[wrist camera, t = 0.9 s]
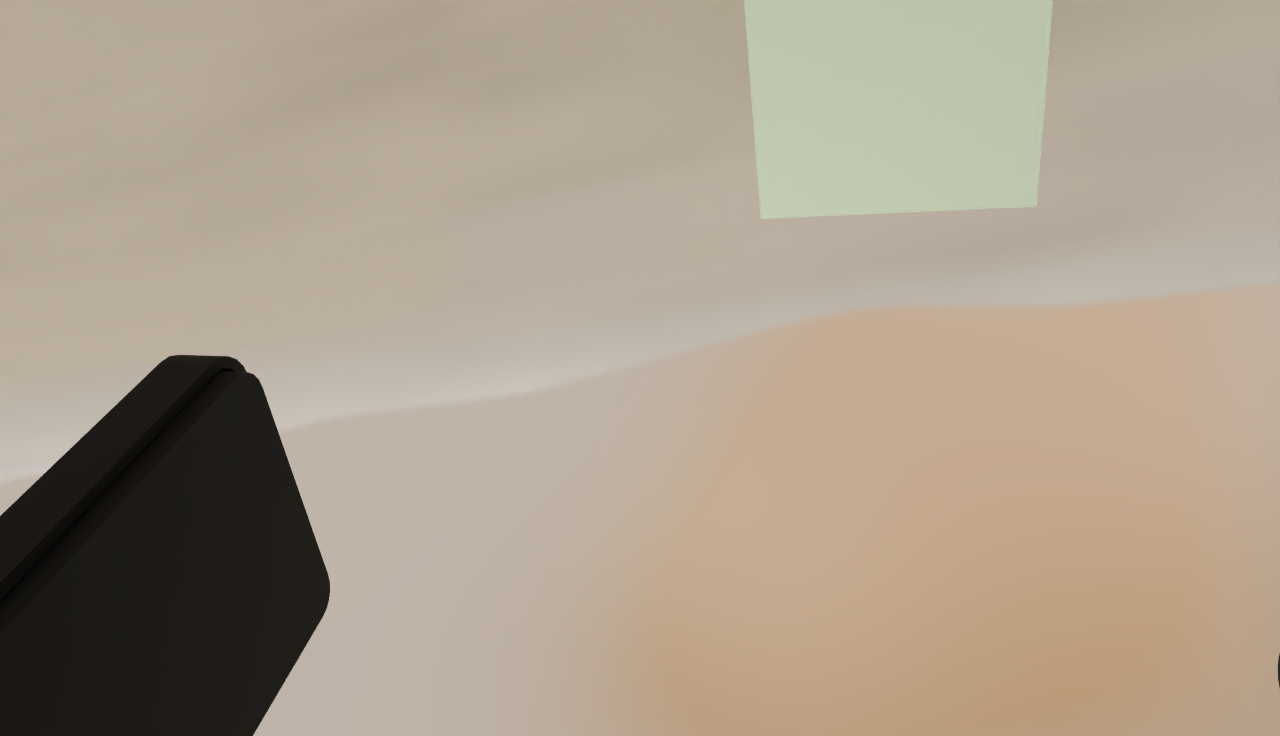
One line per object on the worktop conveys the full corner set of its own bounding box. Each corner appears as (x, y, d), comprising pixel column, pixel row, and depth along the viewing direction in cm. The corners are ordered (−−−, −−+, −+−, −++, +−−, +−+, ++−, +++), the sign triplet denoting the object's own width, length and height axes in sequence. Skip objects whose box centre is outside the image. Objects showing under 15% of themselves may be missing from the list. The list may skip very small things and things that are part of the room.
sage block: (1003, -157, 22) (1060, -90, 16) (992, 69, 25) (1035, 206, 19) (774, -130, 24) (739, -55, 17) (787, 84, 26) (760, 219, 20)
